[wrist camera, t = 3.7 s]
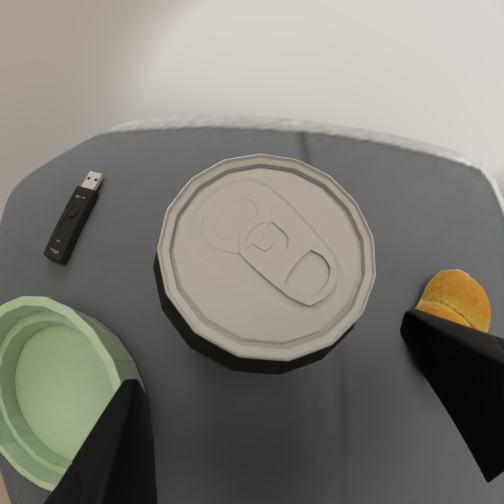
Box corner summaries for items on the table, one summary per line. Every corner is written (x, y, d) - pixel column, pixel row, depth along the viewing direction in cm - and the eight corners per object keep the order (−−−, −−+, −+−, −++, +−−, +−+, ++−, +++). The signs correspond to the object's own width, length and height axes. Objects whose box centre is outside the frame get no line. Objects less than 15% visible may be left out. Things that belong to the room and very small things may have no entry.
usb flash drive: (90, 175, 21) (86, 168, 20) (107, 179, 21) (104, 172, 20) (48, 258, 18) (41, 253, 17) (65, 265, 18) (59, 261, 17)
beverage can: (235, 248, 20) (254, 115, 9) (311, 309, 19) (418, 235, 8) (169, 320, 18) (93, 253, 7) (248, 388, 17) (296, 431, 6)
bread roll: (387, 346, 19) (420, 340, 15) (432, 261, 22) (461, 243, 18) (446, 399, 17) (479, 399, 13) (482, 316, 20) (511, 305, 16)
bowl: (161, 483, 13) (146, 512, 9) (21, 454, 12) (-12, 464, 8) (144, 311, 18) (122, 296, 14) (10, 308, 16) (-25, 293, 12)
